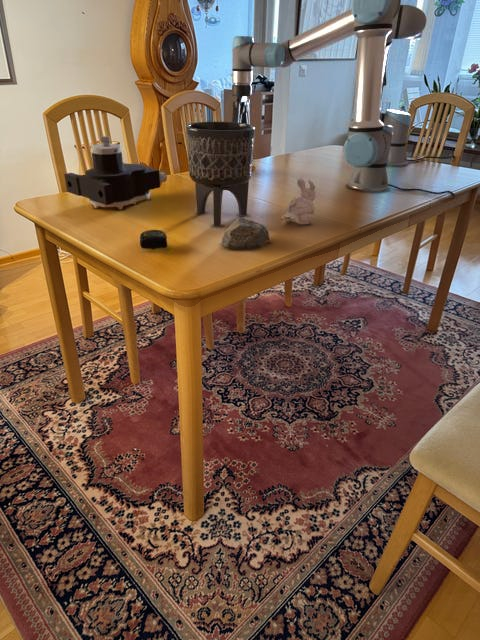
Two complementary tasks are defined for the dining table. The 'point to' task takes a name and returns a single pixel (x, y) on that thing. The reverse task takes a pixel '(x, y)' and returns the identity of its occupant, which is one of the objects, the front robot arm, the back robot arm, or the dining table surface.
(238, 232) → the rock
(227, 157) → the planter
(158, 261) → the dining table surface
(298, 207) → the figurine
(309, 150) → the dining table surface
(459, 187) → the dining table surface
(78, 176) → the mechanical component
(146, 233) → the tape measure
